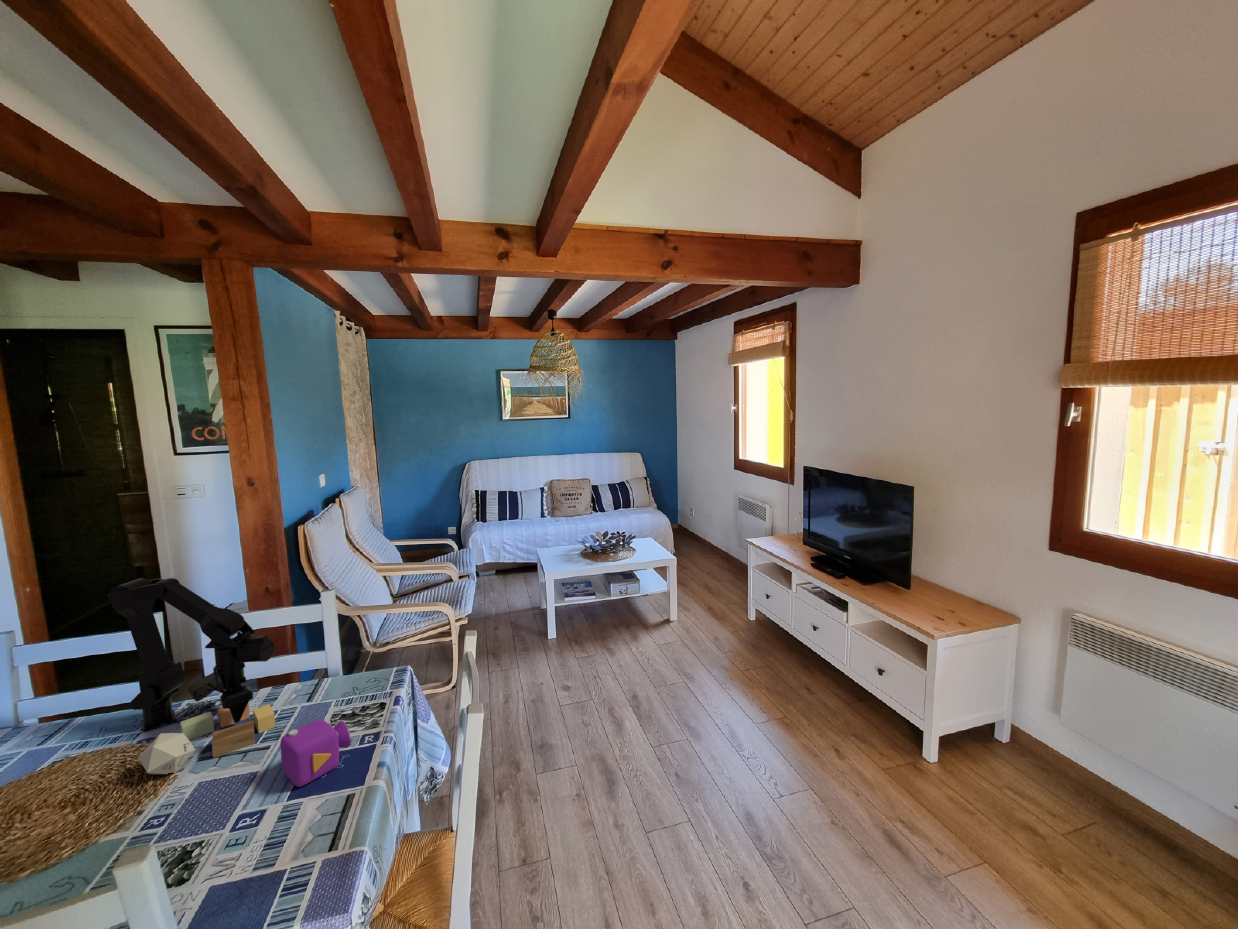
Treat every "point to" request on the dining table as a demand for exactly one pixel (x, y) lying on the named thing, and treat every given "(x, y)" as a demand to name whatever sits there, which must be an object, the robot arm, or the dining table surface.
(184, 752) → the die
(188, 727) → the sage brick
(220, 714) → the terracotta brick
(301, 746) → the toy camera
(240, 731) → the walnut base
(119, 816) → the dining table surface
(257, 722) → the ochre brick
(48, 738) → the dining table surface
